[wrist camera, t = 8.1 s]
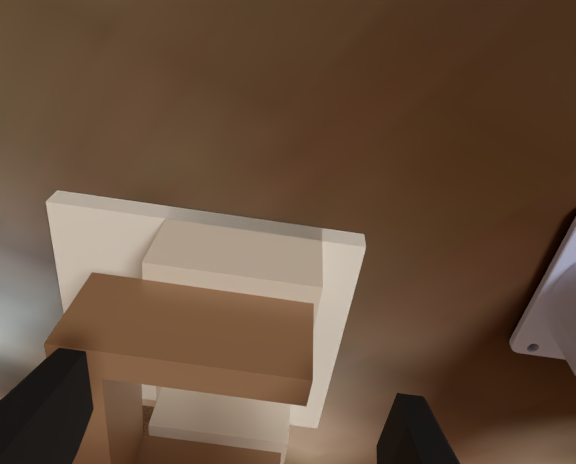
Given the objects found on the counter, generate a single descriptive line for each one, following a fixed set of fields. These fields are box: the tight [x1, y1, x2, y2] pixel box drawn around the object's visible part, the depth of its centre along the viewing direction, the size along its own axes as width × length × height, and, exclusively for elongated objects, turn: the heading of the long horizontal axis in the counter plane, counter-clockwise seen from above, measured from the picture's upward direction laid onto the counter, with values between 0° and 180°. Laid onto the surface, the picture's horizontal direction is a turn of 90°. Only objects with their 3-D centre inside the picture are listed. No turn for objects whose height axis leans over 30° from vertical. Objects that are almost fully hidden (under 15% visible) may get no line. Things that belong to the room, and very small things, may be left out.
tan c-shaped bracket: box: [44, 272, 314, 464], centre depth 18 cm, size 8×10×4 cm
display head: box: [46, 190, 366, 464], centre depth 21 cm, size 13×12×4 cm
